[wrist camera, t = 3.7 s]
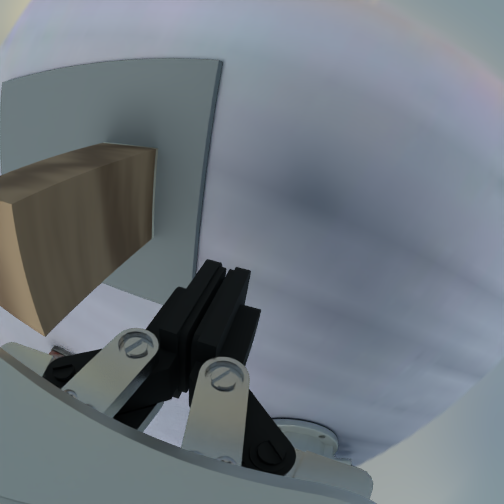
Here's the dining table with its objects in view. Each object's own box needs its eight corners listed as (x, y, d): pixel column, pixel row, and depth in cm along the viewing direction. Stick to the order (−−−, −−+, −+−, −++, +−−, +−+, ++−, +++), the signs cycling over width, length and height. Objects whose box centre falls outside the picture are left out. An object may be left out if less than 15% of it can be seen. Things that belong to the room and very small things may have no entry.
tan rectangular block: (158, 148, 19) (11, 204, 8) (153, 237, 22) (45, 336, 12) (104, 142, 20) (-33, 189, 9) (104, 223, 23) (-5, 302, 12)
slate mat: (222, 62, 16) (218, 60, 16) (193, 308, 26) (189, 313, 25) (7, 81, 19) (2, 82, 19) (15, 240, 29) (11, 243, 28)
